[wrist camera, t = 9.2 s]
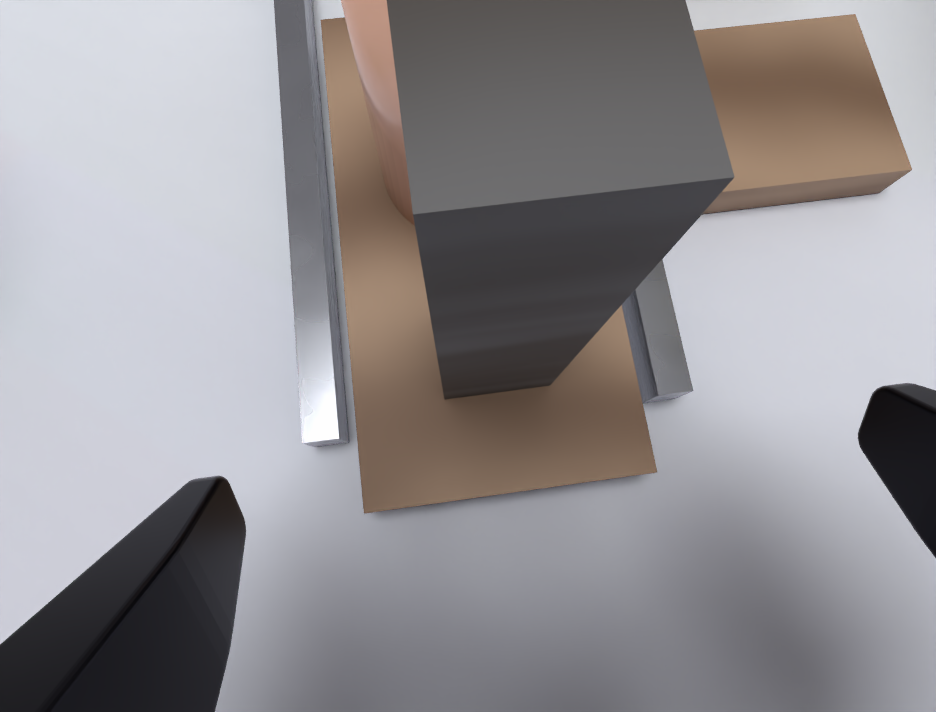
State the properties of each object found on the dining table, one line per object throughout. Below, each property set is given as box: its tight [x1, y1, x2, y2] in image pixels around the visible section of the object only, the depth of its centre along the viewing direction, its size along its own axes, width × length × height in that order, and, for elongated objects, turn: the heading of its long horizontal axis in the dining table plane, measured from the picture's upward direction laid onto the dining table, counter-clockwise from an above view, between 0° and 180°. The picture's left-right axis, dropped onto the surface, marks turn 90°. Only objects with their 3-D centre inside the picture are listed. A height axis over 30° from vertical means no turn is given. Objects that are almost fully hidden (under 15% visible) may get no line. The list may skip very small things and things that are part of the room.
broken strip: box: [694, 14, 912, 214], centre depth 19 cm, size 14×8×1 cm, turn 8°
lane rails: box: [274, 0, 693, 447], centre depth 18 cm, size 22×11×1 cm, turn 8°
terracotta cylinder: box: [341, 0, 415, 225], centre depth 13 cm, size 5×5×9 cm
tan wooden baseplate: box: [321, 0, 735, 513], centre depth 12 cm, size 16×8×12 cm, turn 8°
